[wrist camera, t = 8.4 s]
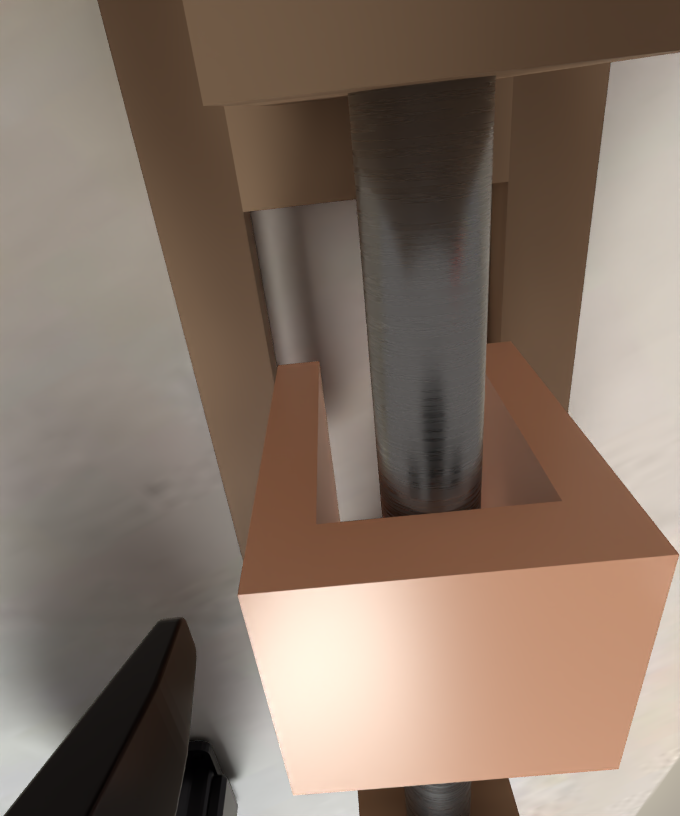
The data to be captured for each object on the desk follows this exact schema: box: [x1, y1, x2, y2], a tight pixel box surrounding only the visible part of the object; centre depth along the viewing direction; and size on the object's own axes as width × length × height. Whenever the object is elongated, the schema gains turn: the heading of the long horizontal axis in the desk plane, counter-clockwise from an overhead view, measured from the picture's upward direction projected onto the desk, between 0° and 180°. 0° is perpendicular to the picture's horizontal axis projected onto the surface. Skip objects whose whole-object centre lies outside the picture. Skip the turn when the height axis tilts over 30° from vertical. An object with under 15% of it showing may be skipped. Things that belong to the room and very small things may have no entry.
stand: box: [97, 0, 680, 816], centre depth 12 cm, size 10×22×10 cm, turn 6°
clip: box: [238, 341, 679, 796], centre depth 11 cm, size 6×5×7 cm
